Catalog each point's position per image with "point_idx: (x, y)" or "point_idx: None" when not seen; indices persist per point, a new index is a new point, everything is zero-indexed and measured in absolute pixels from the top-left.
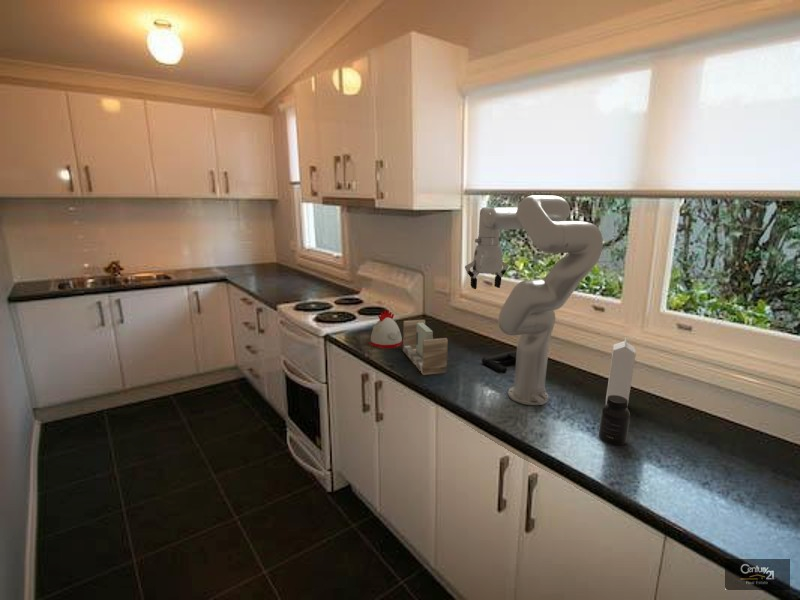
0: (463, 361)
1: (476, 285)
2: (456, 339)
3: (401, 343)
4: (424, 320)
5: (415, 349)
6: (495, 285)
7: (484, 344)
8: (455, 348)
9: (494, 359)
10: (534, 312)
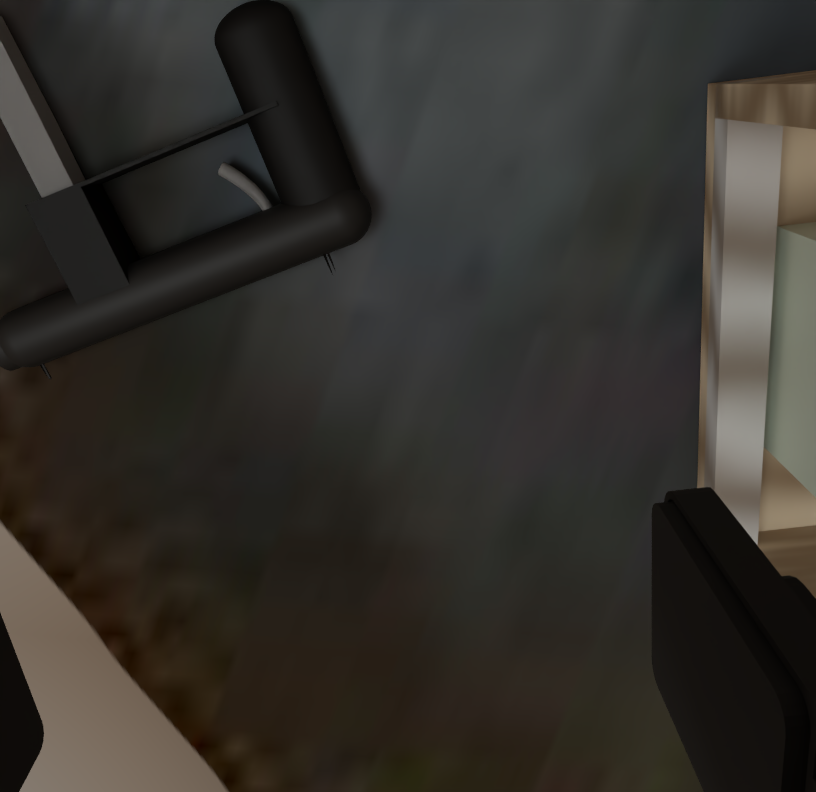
0: (492, 289)
1: (692, 548)
2: (397, 690)
3: None
4: None
5: (779, 513)
6: (18, 716)
7: (223, 587)
8: (462, 536)
9: (266, 212)
10: None
